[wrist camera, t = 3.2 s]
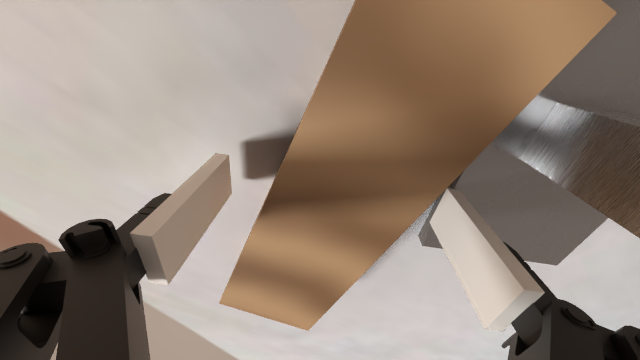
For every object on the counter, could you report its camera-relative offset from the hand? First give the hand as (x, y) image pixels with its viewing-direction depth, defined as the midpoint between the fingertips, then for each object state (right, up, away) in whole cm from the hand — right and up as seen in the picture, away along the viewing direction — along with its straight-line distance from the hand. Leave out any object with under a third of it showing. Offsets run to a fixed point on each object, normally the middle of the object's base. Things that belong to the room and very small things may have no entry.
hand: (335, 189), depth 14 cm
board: (0, +1, +1) cm, 2 cm away
